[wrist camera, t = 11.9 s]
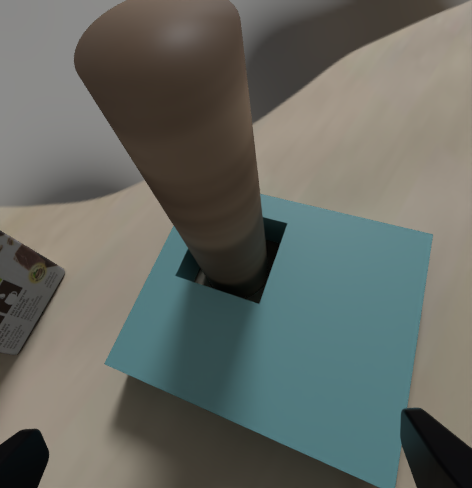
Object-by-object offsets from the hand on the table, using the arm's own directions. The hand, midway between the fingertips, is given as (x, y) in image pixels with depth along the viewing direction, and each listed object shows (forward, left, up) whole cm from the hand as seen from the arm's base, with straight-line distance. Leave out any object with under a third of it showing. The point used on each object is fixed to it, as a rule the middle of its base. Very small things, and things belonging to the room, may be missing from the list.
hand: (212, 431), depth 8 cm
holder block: (+6, +1, -10) cm, 12 cm away
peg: (+8, +4, -10) cm, 13 cm away
